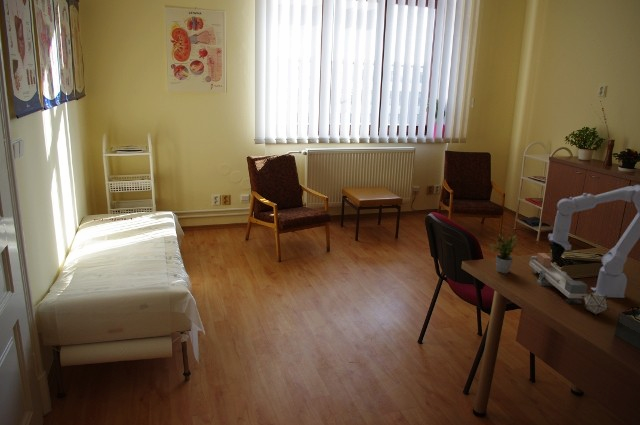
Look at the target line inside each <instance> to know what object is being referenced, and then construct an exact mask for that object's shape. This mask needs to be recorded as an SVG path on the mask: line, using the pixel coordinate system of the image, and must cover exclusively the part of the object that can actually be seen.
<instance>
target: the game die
mask: <svg viewBox="0 0 640 425" xmlns="http://www.w3.org/2000/svg"><path fill="white" fill-rule="evenodd" d="M582 297H583V298H582V299H583V300H584V306H583V307H584V311H586V310H587V311H590V312H591V313H593V314H594V316H595V317H597V315H599V314H600V313H602V312H605V311H606V310H608V311H611V308H608V303H607V298H608V297H607V296H603V295H601V294H599V293H597V292H596V290H595V292H594V291H593V292H591V293H589V294H588V295H587V296H585V297H584V296H582Z"/></svg>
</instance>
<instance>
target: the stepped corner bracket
mask: <svg viewBox="0 0 640 425" xmlns="http://www.w3.org/2000/svg"><path fill="white" fill-rule="evenodd" d="M533 269H534V268H533ZM561 271H562V272H563V273H565V274H566V275H567V276H568V272H566V271H564V270H561ZM533 272H534V273H535V274H537V275H538V274H539V273H538V272H537V271H536V270H535V269H534V270H533ZM544 277H545V272H544V271H540V274H539V275H538V279H536V283H537V284H538V285H539V286H540V287H541V286H546V287H548V286H549V287H552V286H553V287H555V286H554V285H553V284H551V283H550V282H549V281H548V280H547V279H545V278H544ZM564 299H565V300H564V302H566V303H567V302H568V303H567V304H568V305H581V306H582V305H583V302H582V301H581V300H580V299H579V298H564Z"/></svg>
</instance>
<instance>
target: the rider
mask: <svg viewBox="0 0 640 425" xmlns="http://www.w3.org/2000/svg"><path fill="white" fill-rule="evenodd" d="M536 256H537V259H536V261H537V262H538V263H540V264H541V265H542V266H543V267H545V268H549V269H550V265H551V263H552V256H549V255H548V254H547V253H546V252H537V254H536Z"/></svg>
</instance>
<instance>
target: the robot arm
mask: <svg viewBox="0 0 640 425" xmlns="http://www.w3.org/2000/svg"><path fill="white" fill-rule="evenodd" d="M619 200H622V201H624V202H628V203H631V201H632V202H633V203H634V206H635V208H636V210H637V213H636V214H635V217H634V218H633V219H632V221H631V222H630V224H629V225H628V226H627V228H626V229H625V231H624V232H623V233H622V236H621V237H620V238H619V240H618V241H617V243H616V245H615V246H613V247H612V248H610V250H609V251H608V252H607V253H605V254H604V255H603V256H602V257H601V260H600V261H601V264H602V265H603V266H602V267H600V268H599V272H598V277H597V281H596V286H595V287H590V290H591V291H593V293H594V292H595V290H596V292H597V293H599V294H601V295H603V296H607V297H606V298H621V299H623V298H626V296H625V292H626V289H627V283H628V279H627V275H626V274H625V273H623V271H624V266H625V263H627V262H626V261H627V257H628V255H629V253H630V252H631V250H632V249H633V248H634V246H635V245H636V243H637V242H638V241H639V239H640V184H635V185H633V186H632V185H628V186H625V187H620V188H618V189H614V190H610V191H607V192H603V193H599V194H596V195H594V194H592V193H587V192H583V193H582V195H578V196H574V197H573V196H570V197H569V198H561V199H560V200H559V201H558V202H557V204H556V208H557V211H556V214H555V215H556V216H555V218H554V219H555V220H554V223H553V224H554V226H553V230H552V233H548V235H547V238H548V241H550V242H549V246H550V249H551V250H550V251H551V258H552V259H551V261H553V262H560V260H561V258H562V256H563V254H564V253H565V252H566V251H571V249H572V244H571V243H570V241H569V240H568V239H569V234H570V229H571V225H572V224H571V223H572V215H573V214H574V213H578V212H582V211H587V210H591V209H594V208H595V207H596V206H597V205H598V204H604V203H610V202H613V201H619Z"/></svg>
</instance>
